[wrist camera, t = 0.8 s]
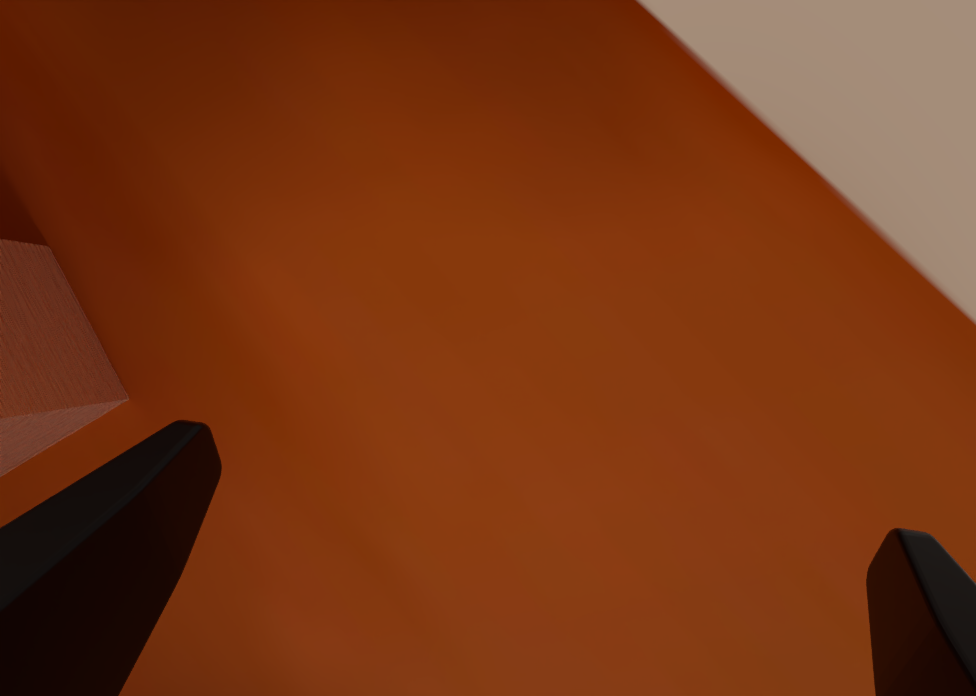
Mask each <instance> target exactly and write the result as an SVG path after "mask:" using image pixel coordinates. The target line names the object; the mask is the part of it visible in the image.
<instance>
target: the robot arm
mask: <svg viewBox="0 0 976 696" xmlns="http://www.w3.org/2000/svg"><path fill="white" fill-rule="evenodd" d="M221 469H222V466H221V460H220V457H219V454H218V451H217V448H216V445H215V442H214V438H213V435H212V432H211V430H210V428H209V427H208V426H207V425H206V424H205V423H201V422H195V421H188V420H178V421H175V422H173V423H171V424H169V425H168V426H166V427H164V428H163V429H161V430H159V431H158V432H156V433H155V434H153V435H151V436H150V437H148V438H146V439H145V440H143V441H141V442H140V443H138V444H137V445H135V446H133V447H132V448H130V449H128V450H127V451H125V452H124V453H122V454H120V455H119V456H117V457H115V458H114V459H112V460H110V461H109V462H107V463H106V464H104V465H102V466H101V467H99V468H97V469H96V470H94V471H93V472H91V473H89V474H88V475H86V476H84V477H83V478H81V479H79V480H78V481H76V482H75V483H73V484H71V485H70V486H68V487H66V488H65V489H63V490H62V491H60V492H58V493H57V494H55V495H53V496H52V497H50V498H49V499H47V500H45V501H44V502H42V503H40V504H39V505H37V506H35V507H34V508H32V509H31V510H29V511H27V512H26V513H24V514H22V515H21V516H19V517H18V518H16V519H14V520H13V521H11V522H9V523H8V524H6V525H4V526H3V527H1V528H0V696H118V695H119V694H120V692H121V690H122V688H123V686H124V684H125V682H126V680H127V678H128V676H129V675H130V673H131V671H132V669H133V667H134V665H135V663H136V661H137V659H138V657H139V655H140V654H141V652H142V650H143V648H144V646H145V644H146V642H147V640H148V638H149V636H150V635H151V633H152V631H153V629H154V627H155V625H156V623H157V621H158V619H159V617H160V615H161V614H162V612H163V610H164V608H165V606H166V604H167V602H168V600H169V598H170V596H171V595H172V593H173V591H174V589H175V587H176V585H177V583H178V581H179V579H180V577H181V574H182V572H183V570H184V567H185V565H186V563H187V561H188V558H189V556H190V553H191V550H192V548H193V545H194V543H195V540H196V538H197V535H198V533H199V530H200V528H201V525H202V523H203V520H204V518H205V515H206V513H207V510H208V507H209V505H210V502H211V500H212V497H213V495H214V492H215V490H216V487H217V485H218V482H219V479H220V476H221ZM866 586H867V599H868V611H869V623H870V635H871V647H872V659H873V672H874V684H875V693H876V696H976V583H975V582H974V581H973V580H972V579H971V578H970V577H969V575H968V574H967V573H966V572H965V571H964V570H963V569H962V568H961V567H960V565H959V564H958V563H957V562H956V561H955V560H954V559H953V558H952V556H951V555H950V554H949V553H948V552H947V551H946V550H945V549H944V548H943V546H942V545H941V544H940V543H939V542H938V541H937V540H936V539H935V538H934V537H933V536H931V535H930V534H928V533H926V532H921V531H915V530H908V529H902V528H894V529H892V530H891V531H889V533H888V534H887V535H886V537H885V539H884V541H883V542H882V544H881V546H880V548H879V549H878V551H877V553H876V555H875V556H874V558H873V560H872V562H871V564H870V566H869V568H868V572H867V579H866Z"/></svg>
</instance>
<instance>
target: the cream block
mask: <svg viewBox="0 0 976 696" xmlns="http://www.w3.org/2000/svg"><path fill="white" fill-rule="evenodd" d="M128 399H129V397H128V395H127V393H126V391H125V389H124V387H123V386H122V384H121V382H120V380H119V378H118V376H117V374H116V372H115V370H114V368H113V366H112V365H111V363H110V361H109V359H108V357H107V355H106V353H105V351H104V349H103V347H102V346H101V344H100V342H99V340H98V338H97V336H96V334H95V332H94V330H93V328H92V327H91V325H90V323H89V321H88V319H87V317H86V315H85V313H84V311H83V309H82V308H81V306H80V304H79V302H78V300H77V298H76V296H75V294H74V292H73V290H72V289H71V287H70V285H69V283H68V281H67V279H66V277H65V275H64V273H63V271H62V269H61V268H60V266H59V264H58V262H57V260H56V258H55V256H54V254H53V252H52V250H51V249H50V247H49V246H44V245H37V244H31V243H24V242H17V241H11V240H4V239H0V477H1V476H2V475H4V474H6V473H7V472H9V471H11V470H12V469H14V468H16V467H17V466H19V465H21V464H22V463H24V462H26V461H27V460H29V459H31V458H32V457H34V456H36V455H37V454H39V453H41V452H42V451H44V450H46V449H47V448H49V447H51V446H52V445H54V444H56V443H57V442H59V441H60V440H62V439H64V438H65V437H67V436H69V435H70V434H72V433H74V432H75V431H77V430H79V429H80V428H82V427H84V426H85V425H87V424H89V423H90V422H92V421H94V420H95V419H97V418H99V417H100V416H102V415H104V414H105V413H107V412H109V411H110V410H112V409H114V408H115V407H117V406H118V405H120V404H122V403H123V402H125V401H127V400H128Z"/></svg>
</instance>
